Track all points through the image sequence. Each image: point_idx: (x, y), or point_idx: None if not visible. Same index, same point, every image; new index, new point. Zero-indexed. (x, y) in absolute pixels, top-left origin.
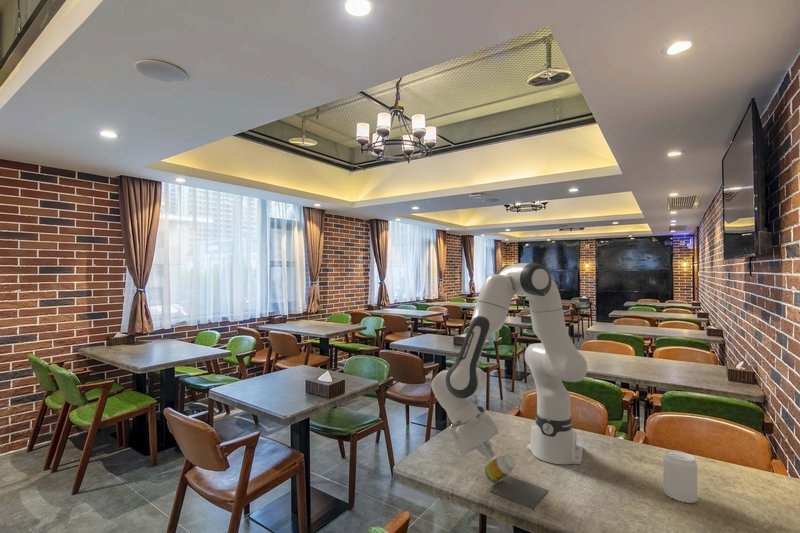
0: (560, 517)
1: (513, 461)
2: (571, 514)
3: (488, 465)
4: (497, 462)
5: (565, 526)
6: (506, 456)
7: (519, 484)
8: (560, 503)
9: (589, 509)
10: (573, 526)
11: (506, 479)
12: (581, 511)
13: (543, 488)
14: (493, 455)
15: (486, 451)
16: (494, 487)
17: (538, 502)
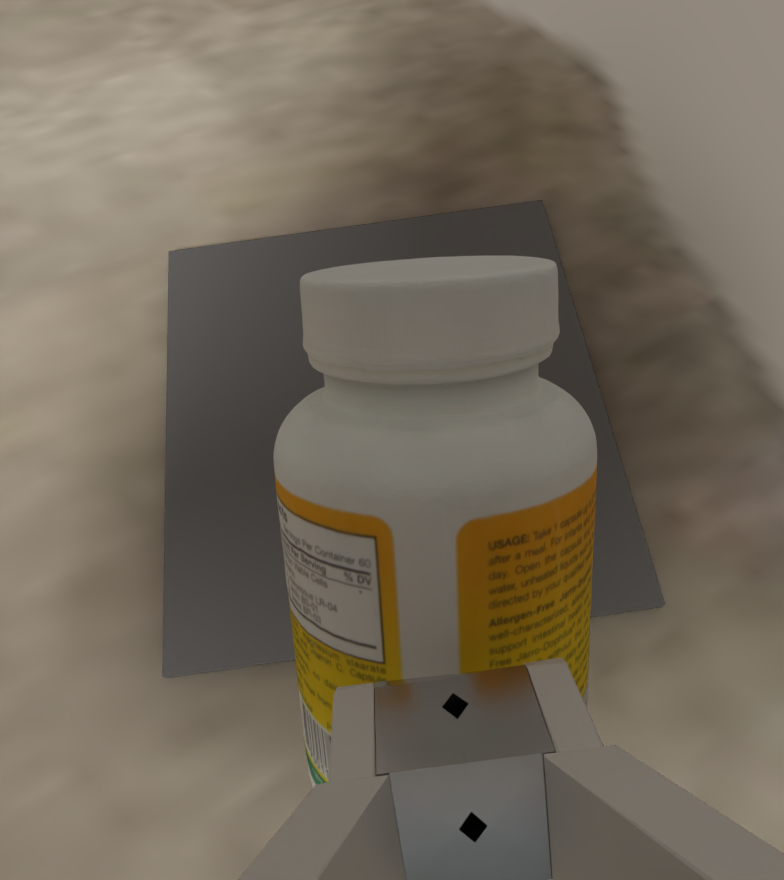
0: (467, 75)
1: (363, 266)
2: (371, 54)
3: None
4: (586, 465)
5: (536, 27)
6: (475, 270)
7: (266, 456)
8: (290, 137)
9: (218, 23)
10: (493, 7)
11: (269, 615)
12: (282, 38)
13: (170, 285)
14: (420, 678)
15: (647, 773)
16: None
17: (421, 220)
